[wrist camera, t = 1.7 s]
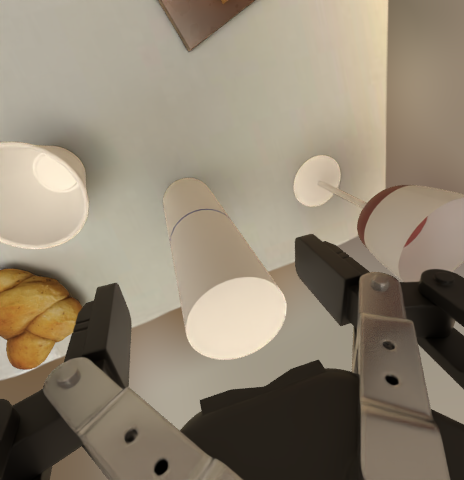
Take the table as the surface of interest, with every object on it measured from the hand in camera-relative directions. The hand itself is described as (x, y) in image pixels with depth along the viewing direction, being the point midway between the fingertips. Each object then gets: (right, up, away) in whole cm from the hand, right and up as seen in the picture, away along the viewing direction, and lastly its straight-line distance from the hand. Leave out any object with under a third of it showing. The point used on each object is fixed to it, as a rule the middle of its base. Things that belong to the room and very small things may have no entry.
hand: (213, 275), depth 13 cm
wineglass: (+14, +11, +33) cm, 37 cm away
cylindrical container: (-5, +7, +28) cm, 30 cm away
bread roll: (-27, -6, +29) cm, 40 cm away
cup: (-20, +10, +22) cm, 32 cm away
